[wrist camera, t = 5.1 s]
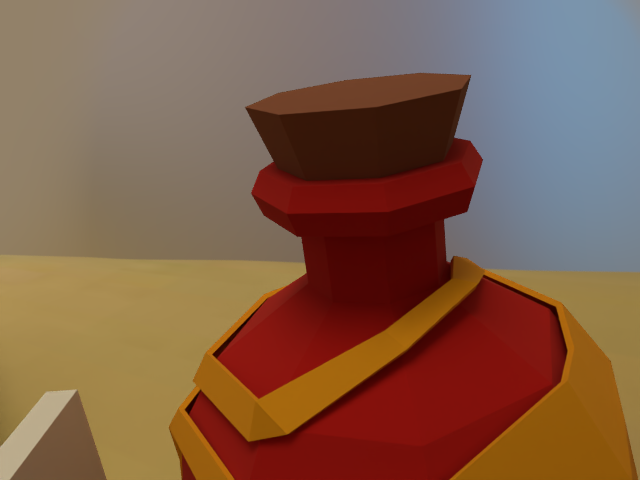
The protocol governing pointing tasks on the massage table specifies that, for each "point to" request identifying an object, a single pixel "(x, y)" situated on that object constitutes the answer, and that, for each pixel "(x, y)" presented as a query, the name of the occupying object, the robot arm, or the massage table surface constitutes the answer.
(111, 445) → the massage table surface
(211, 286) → the massage table surface
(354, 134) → the potion bottle
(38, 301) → the massage table surface
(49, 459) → the robot arm
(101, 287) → the massage table surface
